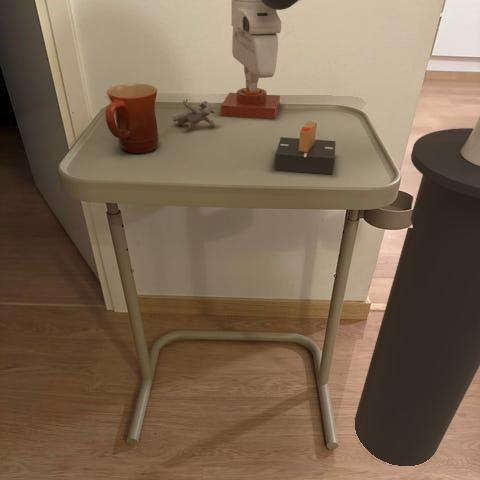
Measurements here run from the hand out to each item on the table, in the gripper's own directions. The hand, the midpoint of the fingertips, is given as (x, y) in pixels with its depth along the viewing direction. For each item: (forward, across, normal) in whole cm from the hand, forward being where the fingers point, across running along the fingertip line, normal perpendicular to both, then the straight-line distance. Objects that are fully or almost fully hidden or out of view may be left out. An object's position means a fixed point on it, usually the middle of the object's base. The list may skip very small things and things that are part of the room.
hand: (251, 89), depth 103 cm
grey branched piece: (+5, +9, -16) cm, 19 cm away
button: (+2, 0, 0) cm, 2 cm away
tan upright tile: (+1, +31, 0) cm, 31 cm away
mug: (+5, +18, -28) cm, 34 cm away
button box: (+4, 0, 0) cm, 4 cm away
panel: (+4, +31, 0) cm, 32 cm away
